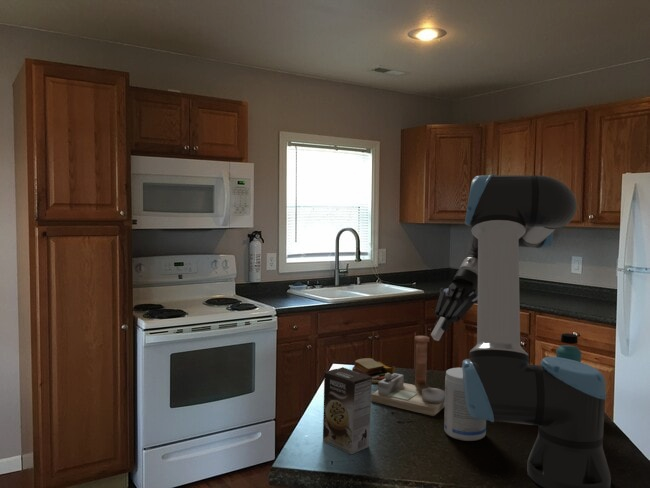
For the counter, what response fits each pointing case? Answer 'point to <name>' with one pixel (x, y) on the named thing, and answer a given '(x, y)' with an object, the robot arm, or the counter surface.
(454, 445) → the counter surface
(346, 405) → the coffee box
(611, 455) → the counter surface
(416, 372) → the lever
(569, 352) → the beverage bottle
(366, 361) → the toy sandwich meal
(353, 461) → the counter surface
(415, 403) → the stand
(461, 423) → the supplement tub
